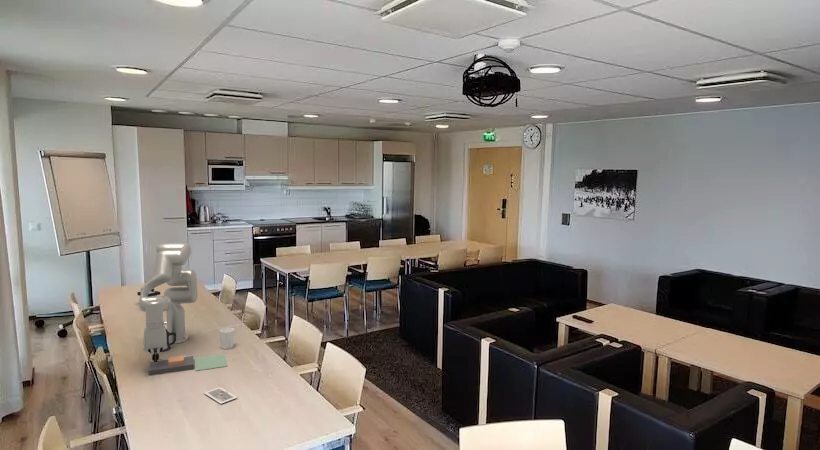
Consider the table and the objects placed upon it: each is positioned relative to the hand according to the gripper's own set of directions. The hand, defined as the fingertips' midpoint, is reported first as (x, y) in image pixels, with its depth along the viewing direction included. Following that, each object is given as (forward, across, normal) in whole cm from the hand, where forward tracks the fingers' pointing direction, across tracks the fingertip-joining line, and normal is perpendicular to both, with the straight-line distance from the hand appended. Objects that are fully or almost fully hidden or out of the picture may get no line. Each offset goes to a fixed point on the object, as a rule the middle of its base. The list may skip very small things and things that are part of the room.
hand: (155, 361), depth 236 cm
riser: (+5, -7, 0) cm, 9 cm away
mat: (+5, -25, 0) cm, 26 cm away
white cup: (+4, -35, -20) cm, 41 cm away
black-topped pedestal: (+3, +9, -130) cm, 131 cm away
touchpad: (+6, -27, +42) cm, 50 cm away
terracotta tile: (+2, -9, 0) cm, 9 cm away
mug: (+4, -3, -30) cm, 31 cm away
